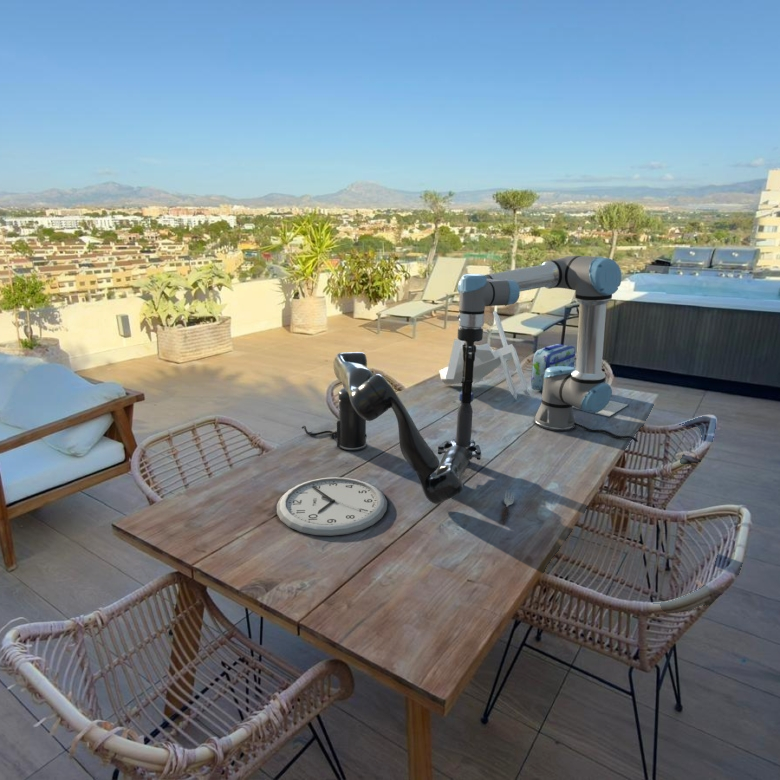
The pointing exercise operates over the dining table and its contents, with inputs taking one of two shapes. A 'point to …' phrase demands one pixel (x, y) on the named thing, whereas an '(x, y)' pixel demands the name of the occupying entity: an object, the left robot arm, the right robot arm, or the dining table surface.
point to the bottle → (464, 424)
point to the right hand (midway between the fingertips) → (465, 400)
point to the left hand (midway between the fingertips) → (464, 441)
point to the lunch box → (550, 362)
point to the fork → (507, 502)
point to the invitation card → (611, 408)
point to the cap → (461, 396)
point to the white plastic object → (484, 362)
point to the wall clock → (331, 506)
